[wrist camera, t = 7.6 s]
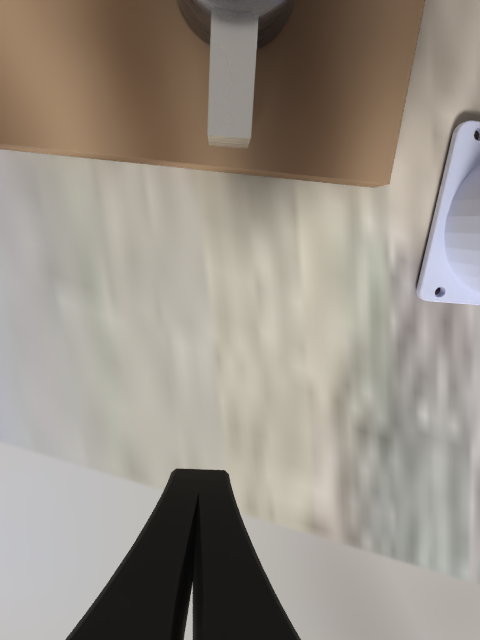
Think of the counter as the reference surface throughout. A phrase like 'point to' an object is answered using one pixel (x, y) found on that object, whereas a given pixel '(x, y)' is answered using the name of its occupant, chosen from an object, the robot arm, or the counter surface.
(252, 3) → the crank handle
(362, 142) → the level stand
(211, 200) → the counter surface
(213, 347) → the counter surface
